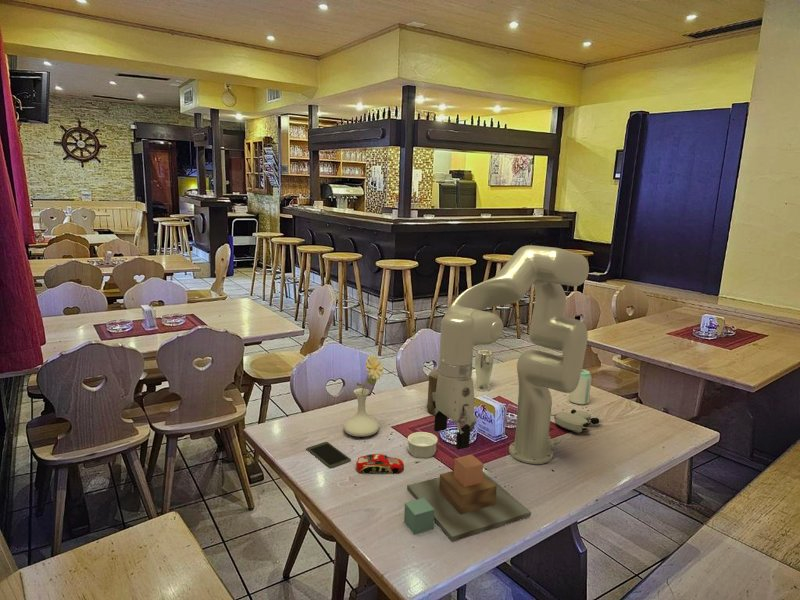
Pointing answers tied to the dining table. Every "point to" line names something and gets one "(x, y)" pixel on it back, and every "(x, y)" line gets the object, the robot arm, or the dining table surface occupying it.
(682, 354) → the dining table surface
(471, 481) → the terracotta brick
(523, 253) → the robot arm
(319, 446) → the cell phone
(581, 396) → the can
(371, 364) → the flower in vase
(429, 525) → the teal-grey brick
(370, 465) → the race car
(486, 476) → the tower base
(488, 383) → the beer glass
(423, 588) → the dining table surface
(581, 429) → the robot toy
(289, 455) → the dining table surface
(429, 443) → the ramekin
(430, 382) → the pillar candle
